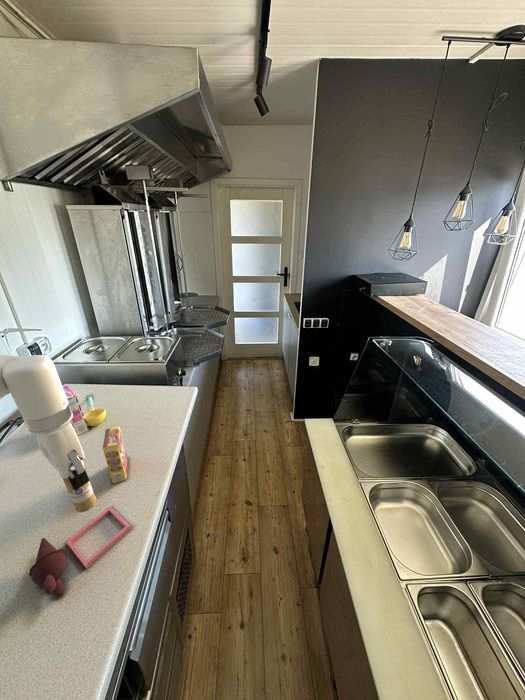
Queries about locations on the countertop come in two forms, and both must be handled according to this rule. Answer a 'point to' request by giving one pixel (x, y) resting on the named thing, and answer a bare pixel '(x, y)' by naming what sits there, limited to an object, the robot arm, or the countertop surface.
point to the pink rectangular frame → (107, 545)
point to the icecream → (49, 568)
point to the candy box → (115, 454)
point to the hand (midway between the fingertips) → (75, 479)
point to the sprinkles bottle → (80, 493)
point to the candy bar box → (76, 412)
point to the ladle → (94, 414)
